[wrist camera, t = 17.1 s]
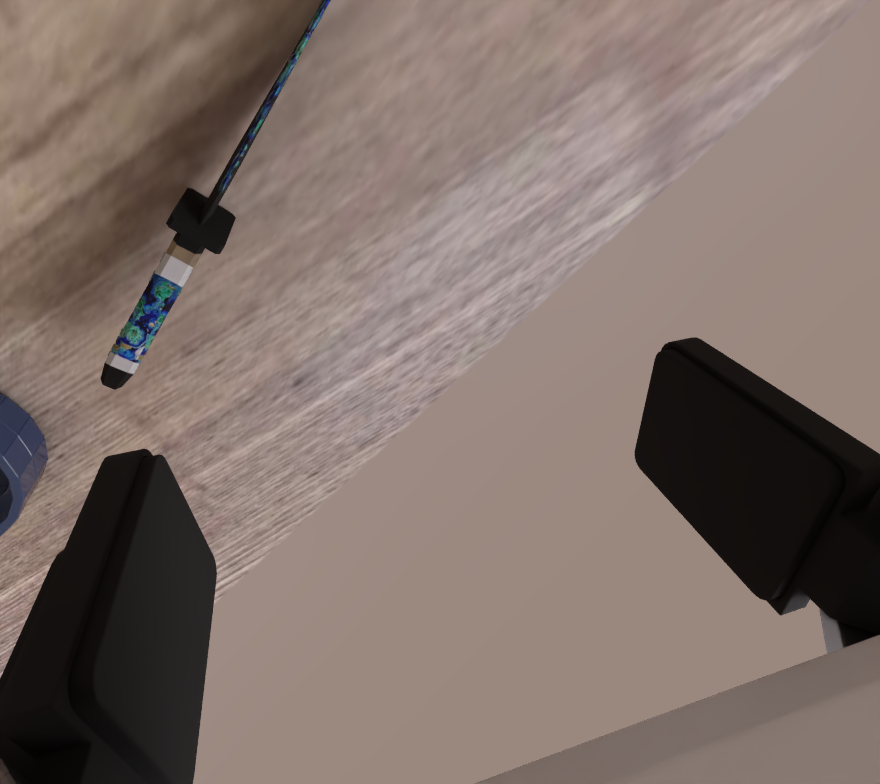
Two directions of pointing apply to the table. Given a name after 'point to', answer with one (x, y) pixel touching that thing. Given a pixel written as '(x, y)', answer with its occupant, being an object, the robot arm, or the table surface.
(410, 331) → the table surface
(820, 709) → the robot arm
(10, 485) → the bowl
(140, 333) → the knife
